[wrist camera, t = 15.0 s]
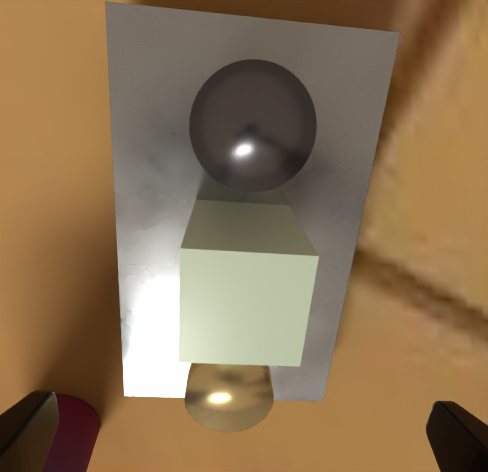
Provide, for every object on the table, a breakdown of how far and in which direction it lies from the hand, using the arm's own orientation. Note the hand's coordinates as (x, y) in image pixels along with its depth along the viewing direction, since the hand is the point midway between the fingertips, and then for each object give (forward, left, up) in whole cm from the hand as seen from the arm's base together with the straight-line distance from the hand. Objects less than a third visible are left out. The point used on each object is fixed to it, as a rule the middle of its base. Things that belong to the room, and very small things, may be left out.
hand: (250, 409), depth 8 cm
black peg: (0, -6, -10) cm, 12 cm away
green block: (0, 0, -10) cm, 10 cm away
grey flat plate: (0, 0, -12) cm, 12 cm away
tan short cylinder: (0, +7, -10) cm, 12 cm away
